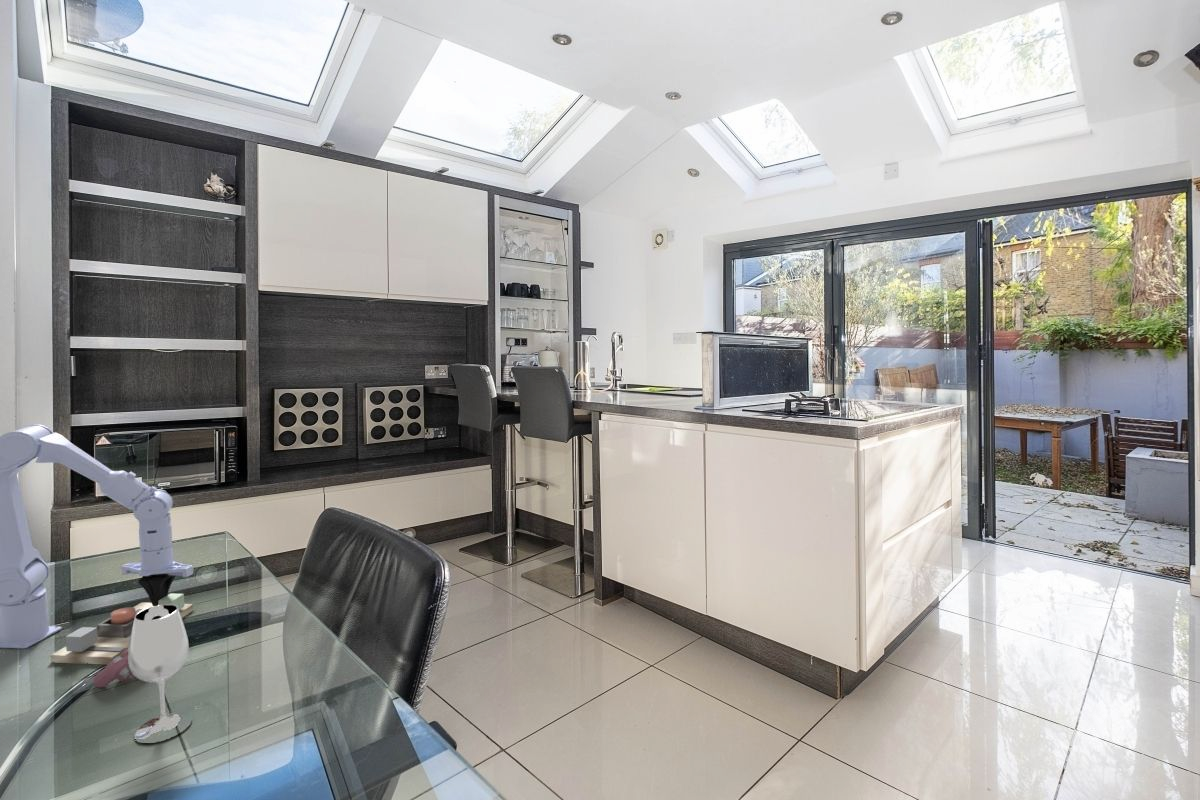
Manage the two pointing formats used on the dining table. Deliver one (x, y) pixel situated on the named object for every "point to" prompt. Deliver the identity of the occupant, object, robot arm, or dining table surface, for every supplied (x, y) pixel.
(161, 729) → the wineglass
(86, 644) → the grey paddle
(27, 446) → the robot arm
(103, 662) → the control board
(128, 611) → the pink round button
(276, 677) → the dining table surface
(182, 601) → the pale green block
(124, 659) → the video game controller
